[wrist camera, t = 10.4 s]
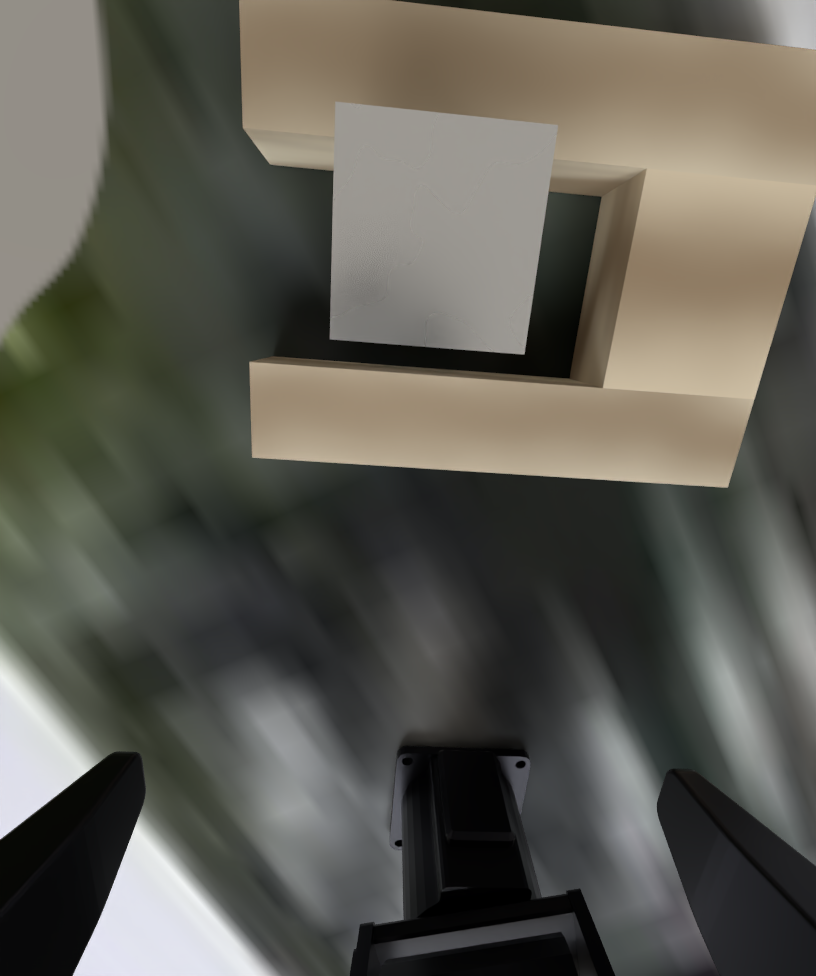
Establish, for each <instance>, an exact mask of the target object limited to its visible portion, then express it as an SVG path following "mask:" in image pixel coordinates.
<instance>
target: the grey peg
mask: <svg viewBox="0 0 816 976" xmlns="http://www.w3.org/2000/svg"><path fill="white" fill-rule="evenodd" d="M557 130H558V125H552V124H543V123H534V122H524V121H515V120H505V119H496V118H486V117H477V116H467V115H458V114H449V113H439V112H430V111H420V110H411V109H401V108H392V107H382V106H373V105H363V104H354V103H345V102H335V134H334V178H333V221H332V264H331V307H330V339H332V340H344V341H357V342H370V343H383V344H396V345H408V346H421V347H434V348H447V349H460V350H472V351H485V352H498V353H511V354H525V347H526V341H527V334H528V327H529V320H530V314H531V307H532V300H533V293H534V286H535V280H536V273H537V266H538V259H539V252H540V246H541V239H542V232H543V225H544V219H545V212H546V205H547V198H548V191H549V185H550V178H551V171H552V164H553V158H554V151H555V144H556V137H557Z"/></svg>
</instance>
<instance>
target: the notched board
mask: <svg viewBox="0 0 816 976" xmlns="http://www.w3.org/2000/svg"><path fill="white" fill-rule="evenodd" d="M239 10H240V45H241V80H242V115H243V129H244V130H245V131H246V133H247V134H248V135H249V137H250V138H251V139H252V141H253V142H254V144H255V145H256V146H257V148H258V149H259V150H260V152H261V153H262V154H263V156H264V157H265V158H266V160H267V161H268V162H269V164H270V165H279V166H289V167H299V168H310V169H320V170H330V171H334V134H335V102H345V103H354V104H363V105H373V106H382V107H392V108H401V109H411V110H420V111H430V112H439V113H449V114H458V115H467V116H477V117H486V118H496V119H505V120H515V121H524V122H534V123H543V124H552V125H558V130H557V137H556V144H555V151H554V158H553V164H552V171H551V178H550V185H549V191H548V192H558V193H568V194H579V195H589V196H599V197H602V198H601V204H600V209H599V215H598V220H597V226H596V232H595V237H594V243H593V249H592V254H591V260H590V265H589V271H588V277H587V282H586V288H585V294H584V299H583V305H582V310H581V316H580V322H579V327H578V333H577V339H576V344H575V350H574V355H573V361H572V367H571V372H570V378H569V379H568V378H555V377H541V376H528V375H515V374H501V373H488V372H475V371H461V370H448V369H435V368H421V367H408V366H395V365H381V364H368V363H355V362H341V361H328V360H315V359H301V358H288V357H275V356H272V357H268V358H264V359H260V360H255V361H251V362H250V397H251V433H252V458H268V459H284V460H299V461H315V462H331V463H347V464H362V465H378V466H394V467H410V468H425V469H441V470H457V471H473V472H489V473H504V474H520V475H536V476H552V477H567V478H583V479H599V480H615V481H630V482H646V483H662V484H678V485H694V486H709V487H725V488H728V485H729V482H730V478H731V475H732V472H733V469H734V465H735V462H736V459H737V455H738V452H739V449H740V445H741V442H742V439H743V435H744V432H745V429H746V425H747V422H748V419H749V415H750V412H751V409H752V405H753V402H754V399H755V396H756V392H757V389H758V386H759V382H760V379H761V376H762V372H763V369H764V366H765V362H766V359H767V356H768V352H769V349H770V346H771V342H772V339H773V336H774V332H775V329H776V326H777V323H778V319H779V316H780V313H781V309H782V306H783V303H784V299H785V296H786V293H787V289H788V286H789V283H790V279H791V276H792V273H793V269H794V266H795V263H796V259H797V256H798V253H799V250H800V246H801V243H802V240H803V236H804V233H805V230H806V226H807V223H808V220H809V216H810V213H811V210H812V206H813V203H814V200H815V196H816V50H812V49H804V48H795V47H787V46H778V45H770V44H761V43H753V42H744V41H735V40H727V39H718V38H710V37H701V36H693V35H684V34H676V33H667V32H658V31H650V30H641V29H633V28H624V27H616V26H607V25H599V24H590V23H581V22H573V21H564V20H556V19H547V18H539V17H530V16H522V15H513V14H504V13H496V12H487V11H479V10H470V9H462V8H453V7H445V6H436V5H427V4H419V3H410V2H402V1H393V0H239Z"/></svg>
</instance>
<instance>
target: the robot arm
mask: <svg viewBox="0 0 816 976" xmlns="http://www.w3.org/2000/svg"><path fill="white" fill-rule="evenodd" d="M406 757H409V758H406ZM518 761H519V762H518ZM530 766H531V762H530V758H529V755H528V754H527V752H525V751H524V750H511V749H479V748H448V747H416V746H406V747H402V748H400V749H399V750H398V752H397V759H396V770H395V782H394V793H393V804H392V816H391V827H390V846H391V847H392V848H393V849H395V850H402V862H403V911H404V920H401V921H395V922H389V923H382V924H376V925H375V923H374V922H370V923H364V924H360V928H359V935H358V942H357V948H356V949H354V951H353V958H352V964H351V971H350V976H615V974H614V972H613V969H612V967H611V964H610V962H609V959H608V957H607V954H606V952H605V949H604V947H603V944H602V942H601V939H600V937H599V934H598V932H597V929H596V927H595V924H594V922H593V919H592V917H591V914H590V912H589V910H588V907H587V905H586V902H585V900H584V897H583V895H582V892H581V890H580V889H574V890H568V891H566V894H562V895H556V896H550V897H544V898H542V897H541V893H540V889H539V885H538V882H537V878H536V874H535V870H534V866H533V863H532V859H531V855H530V851H529V847H528V844H527V840H526V836H525V832H524V829H523V825H522V821H521V817H520V815H521V810H522V806H523V801H524V796H525V791H526V786H527V781H528V776H529V771H530ZM145 794H146V786H145V778H144V770H143V762H142V757H141V755H140V754H139V753H137V752H114V753H112V754H110V755H108V756H107V757H106V758H104V759H103V760H102V761H100V762H99V763H98V764H97V765H95V766H94V767H93V768H91V769H90V770H89V771H88V772H86V773H85V774H84V775H82V776H81V777H80V778H79V779H77V780H76V781H75V782H73V783H72V784H71V785H70V786H68V787H67V788H66V789H64V790H63V791H62V792H61V793H59V794H58V795H57V796H55V797H54V798H53V799H52V800H50V801H49V802H48V803H46V804H45V805H44V806H43V807H41V808H40V809H39V810H37V811H36V812H35V813H34V814H32V815H31V816H30V817H28V818H27V819H26V820H25V821H23V822H22V823H21V824H19V825H18V826H17V827H16V828H14V829H13V830H12V831H11V832H9V833H8V834H7V835H5V836H4V837H3V838H2V839H0V976H73V973H74V971H75V969H76V967H77V965H78V963H79V961H80V959H81V957H82V955H83V953H84V950H85V948H86V946H87V944H88V942H89V940H90V938H91V936H92V934H93V931H94V929H95V927H96V925H97V923H98V920H99V918H100V916H101V914H102V911H103V909H104V906H105V904H106V901H107V899H108V896H109V893H110V891H111V888H112V885H113V883H114V880H115V878H116V875H117V872H118V870H119V867H120V864H121V862H122V859H123V856H124V854H125V851H126V849H127V846H128V843H129V841H130V838H131V835H132V833H133V830H134V827H135V825H136V822H137V820H138V817H139V814H140V812H141V809H142V806H143V803H144V799H145ZM657 813H658V817H659V821H660V823H661V826H662V829H663V832H664V835H665V837H666V840H667V843H668V846H669V848H670V851H671V854H672V857H673V860H674V862H675V865H676V868H677V871H678V874H679V876H680V879H681V882H682V885H683V887H684V890H685V893H686V896H687V899H688V901H689V904H690V907H691V909H692V912H693V915H694V917H695V920H696V922H697V925H698V927H699V930H700V932H701V934H702V937H703V939H704V941H705V943H706V946H707V948H708V950H709V952H710V955H711V957H712V959H713V961H714V963H715V966H716V968H717V970H718V972H719V975H720V976H816V866H815V865H814V864H812V863H811V862H810V861H809V860H807V859H806V858H805V857H804V856H802V855H801V854H800V853H799V852H797V851H796V850H795V849H794V848H792V847H791V846H790V845H789V844H787V843H786V842H785V841H783V840H782V839H781V838H780V837H778V836H777V835H776V834H775V833H773V832H772V831H771V830H770V829H768V828H767V827H766V826H765V825H763V824H762V823H761V822H759V821H758V820H757V819H756V818H754V817H753V816H752V815H751V814H749V813H748V812H747V811H746V810H744V809H743V808H742V807H741V806H739V805H738V804H737V803H736V802H734V801H733V800H732V799H730V798H729V797H728V796H727V795H725V794H724V793H723V792H722V791H720V790H719V789H718V788H717V787H715V786H714V785H713V784H712V783H710V782H709V781H708V780H707V779H705V778H704V777H703V776H701V775H700V774H699V773H697V772H696V771H694V770H691V769H670V770H669V771H668V772H667V773H666V776H665V779H664V782H663V785H662V788H661V792H660V795H659V798H658V801H657Z"/></svg>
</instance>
